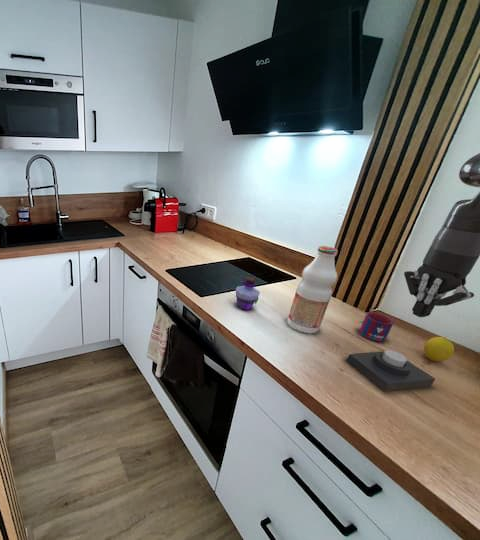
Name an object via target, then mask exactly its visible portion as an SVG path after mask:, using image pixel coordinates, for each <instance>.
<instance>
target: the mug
mask: <svg viewBox="0 0 480 540" xmlns="http://www.w3.org/2000/svg"><path fill="white" fill-rule="evenodd" d="M394 323H395V322H394V320H393V319H392V318H390V317H389V316H386V315H385V314H381V313H377V312H375V311H372V310H369V311H368V312H367V313H366V315H365V316H364V319H363V320H362V324H361V326H360V328H359V329H358V332H359V335H360V336H362V337H363V338H365V339H367V340H370V341H373V342H377V343H383V342H385V341H386V340H387V338H388V335H389V333H390V332H391V330H392V327H393V325H394Z"/></svg>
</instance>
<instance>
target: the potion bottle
mask: <svg viewBox="0 0 480 540" xmlns="http://www.w3.org/2000/svg"><path fill="white" fill-rule="evenodd" d="M256 285H257V281H256V279H255V278H254V277H253V276H252V277H251V276H246V277H245V279H243V283H242V285H238V286H237V287H236V288H235V298H236V307H237V308H238V309H239V310H242V311H245V312H247V311H251V310H252V309H253V306H254V305H256V304H258V301H259V296H260V294H261V291H260V290H258V289H256Z"/></svg>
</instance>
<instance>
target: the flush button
mask: <svg viewBox="0 0 480 540" xmlns="http://www.w3.org/2000/svg"><path fill="white" fill-rule="evenodd" d="M384 351H385V352H384V354H383V356H382V359H383V360H384V361H385V362H387V363H389V364H391V365H393V366H397V367H403V366H404V364H405V363H406V361H408V359H407V357H406V356H404V355H403V354H402V353H400V352H397V351H395V350H391V349H390V350H389V349H387V350H384Z"/></svg>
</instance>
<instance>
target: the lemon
mask: <svg viewBox="0 0 480 540" xmlns="http://www.w3.org/2000/svg"><path fill="white" fill-rule="evenodd" d="M454 352H455V345H454V344H453V342H452V341H451V340H450V339H448V338H447V337H445V336H434V337H431V338H429V339H428V340H427V341H426V342H425V344H424V345H423V353H424V355H425V356H426V357H427V358H429V360H430V361H431V362H435V361H436V362H443V361H447V360H449V359H450V358H451V357H452V356H453V354H454Z"/></svg>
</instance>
